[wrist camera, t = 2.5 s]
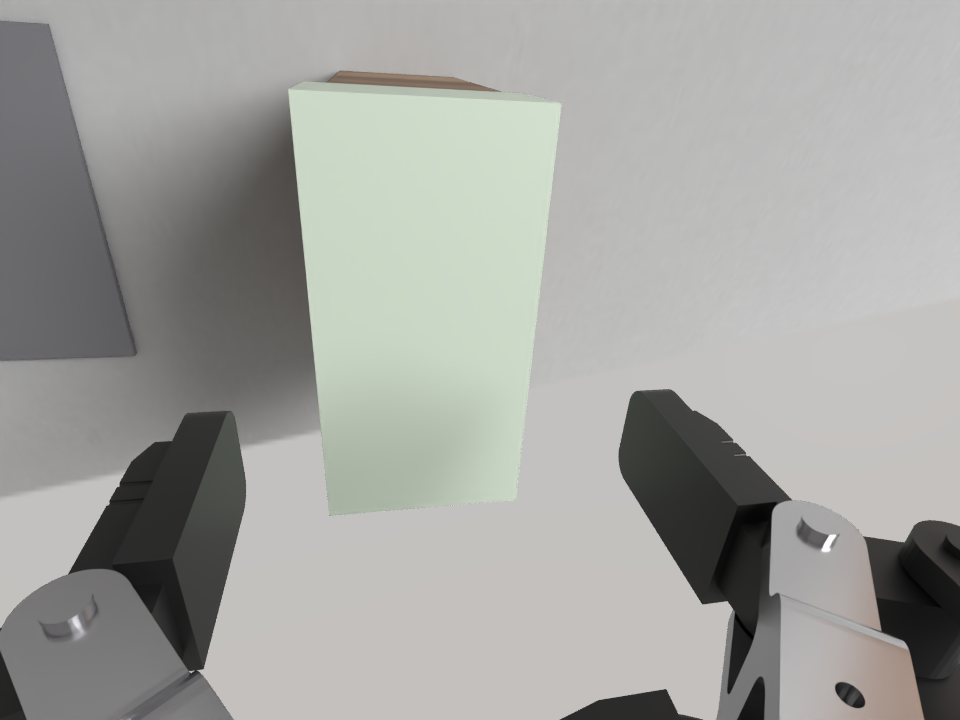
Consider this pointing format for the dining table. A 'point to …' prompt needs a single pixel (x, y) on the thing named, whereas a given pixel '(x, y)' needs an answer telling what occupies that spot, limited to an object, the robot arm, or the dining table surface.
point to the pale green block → (422, 284)
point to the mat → (49, 217)
